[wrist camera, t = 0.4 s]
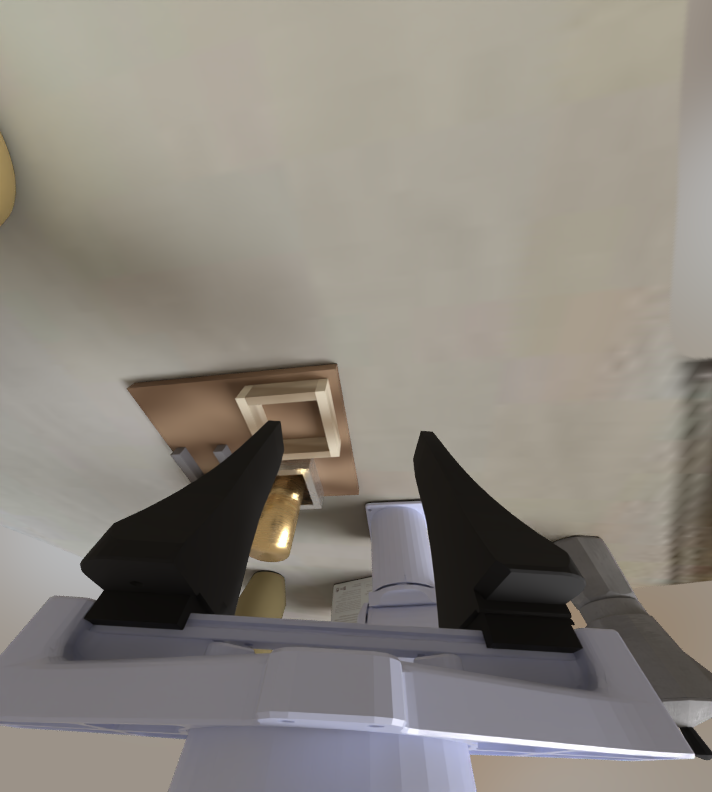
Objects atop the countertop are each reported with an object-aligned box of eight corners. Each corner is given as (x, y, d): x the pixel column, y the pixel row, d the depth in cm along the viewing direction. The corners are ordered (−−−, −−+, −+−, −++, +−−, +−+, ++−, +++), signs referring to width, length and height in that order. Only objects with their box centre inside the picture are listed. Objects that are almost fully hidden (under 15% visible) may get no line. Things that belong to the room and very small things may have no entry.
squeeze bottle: (288, 588, 49) (255, 746, 34) (246, 582, 48) (193, 742, 33) (293, 571, 45) (257, 743, 30) (247, 564, 44) (186, 739, 29)
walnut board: (358, 487, 31) (358, 502, 29) (213, 494, 33) (205, 508, 31) (336, 363, 22) (334, 374, 20) (135, 382, 23) (117, 394, 22)
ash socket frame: (341, 441, 25) (339, 456, 24) (270, 446, 26) (264, 461, 24) (328, 378, 21) (324, 391, 20) (244, 385, 22) (235, 398, 20)
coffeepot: (629, 527, 34) (837, 760, 19) (615, 558, 39) (772, 764, 24) (509, 543, 37) (606, 754, 22) (510, 570, 42) (590, 758, 27)
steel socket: (324, 493, 30) (321, 508, 28) (269, 495, 31) (264, 511, 29) (312, 453, 26) (308, 468, 25) (250, 457, 27) (242, 472, 25)
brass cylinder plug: (310, 486, 29) (294, 561, 23) (277, 488, 30) (252, 562, 23) (302, 463, 27) (282, 538, 21) (267, 465, 28) (236, 540, 21)
